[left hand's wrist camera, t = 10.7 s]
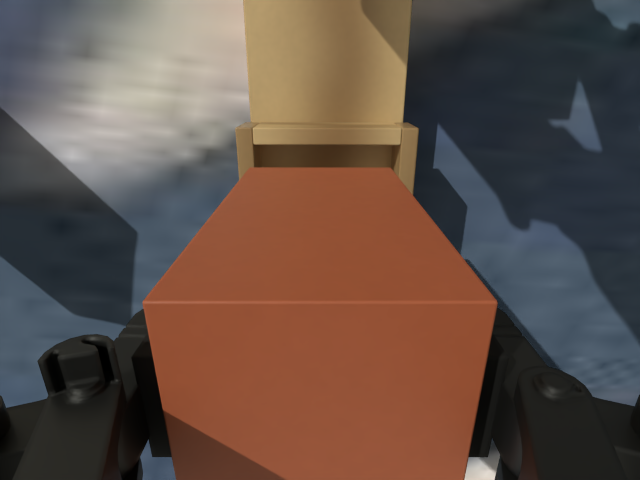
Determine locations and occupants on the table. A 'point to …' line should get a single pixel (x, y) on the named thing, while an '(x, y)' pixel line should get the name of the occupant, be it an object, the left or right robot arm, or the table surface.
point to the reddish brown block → (320, 335)
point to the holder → (328, 86)
